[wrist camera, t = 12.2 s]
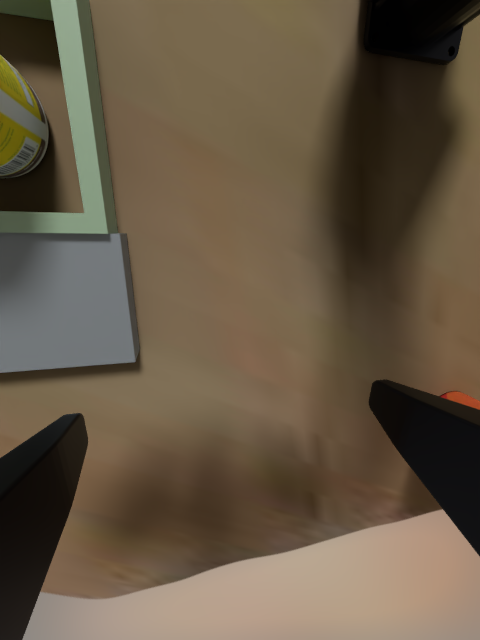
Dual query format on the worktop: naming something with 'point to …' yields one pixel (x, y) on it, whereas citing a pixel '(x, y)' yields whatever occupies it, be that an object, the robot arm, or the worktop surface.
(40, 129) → the supplement bottle
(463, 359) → the worktop surface
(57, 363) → the green flat frame
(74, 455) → the robot arm
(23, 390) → the worktop surface
